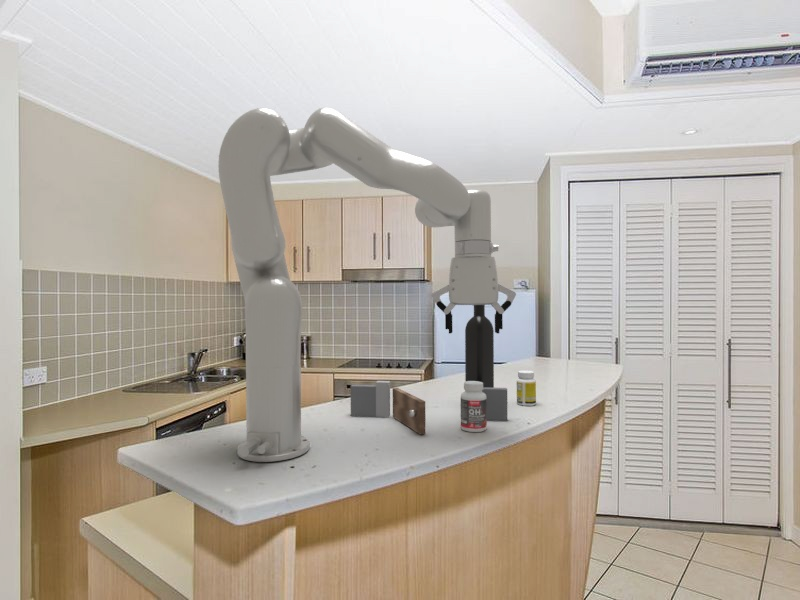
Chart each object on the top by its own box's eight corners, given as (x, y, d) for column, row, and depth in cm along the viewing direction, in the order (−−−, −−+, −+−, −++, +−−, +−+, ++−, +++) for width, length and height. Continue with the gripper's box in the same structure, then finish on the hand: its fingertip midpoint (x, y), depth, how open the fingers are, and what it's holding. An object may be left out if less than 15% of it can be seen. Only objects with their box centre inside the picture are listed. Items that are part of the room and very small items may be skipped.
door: (387, 416, 104) (387, 388, 104) (397, 415, 105) (397, 387, 105) (414, 435, 90) (414, 402, 90) (425, 433, 91) (425, 401, 91)
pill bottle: (470, 434, 91) (470, 385, 91) (455, 427, 96) (455, 381, 96) (492, 430, 94) (491, 383, 94) (476, 424, 98) (475, 379, 98)
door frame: (507, 421, 101) (507, 385, 101) (350, 416, 105) (350, 381, 105) (506, 418, 103) (506, 383, 103) (352, 413, 107) (352, 380, 107)
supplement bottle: (538, 403, 117) (538, 371, 117) (533, 407, 113) (532, 373, 113) (519, 401, 120) (519, 369, 120) (514, 404, 116) (514, 372, 116)
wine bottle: (478, 402, 118) (478, 288, 118) (495, 406, 114) (495, 287, 114) (463, 406, 115) (463, 287, 115) (480, 410, 110) (480, 287, 110)
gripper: (513, 251, 97) (514, 331, 97) (432, 253, 99) (433, 331, 100) (517, 248, 90) (518, 334, 90) (430, 250, 92) (431, 334, 92)
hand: (473, 332), depth 95 cm, fingers open, 9 cm apart
